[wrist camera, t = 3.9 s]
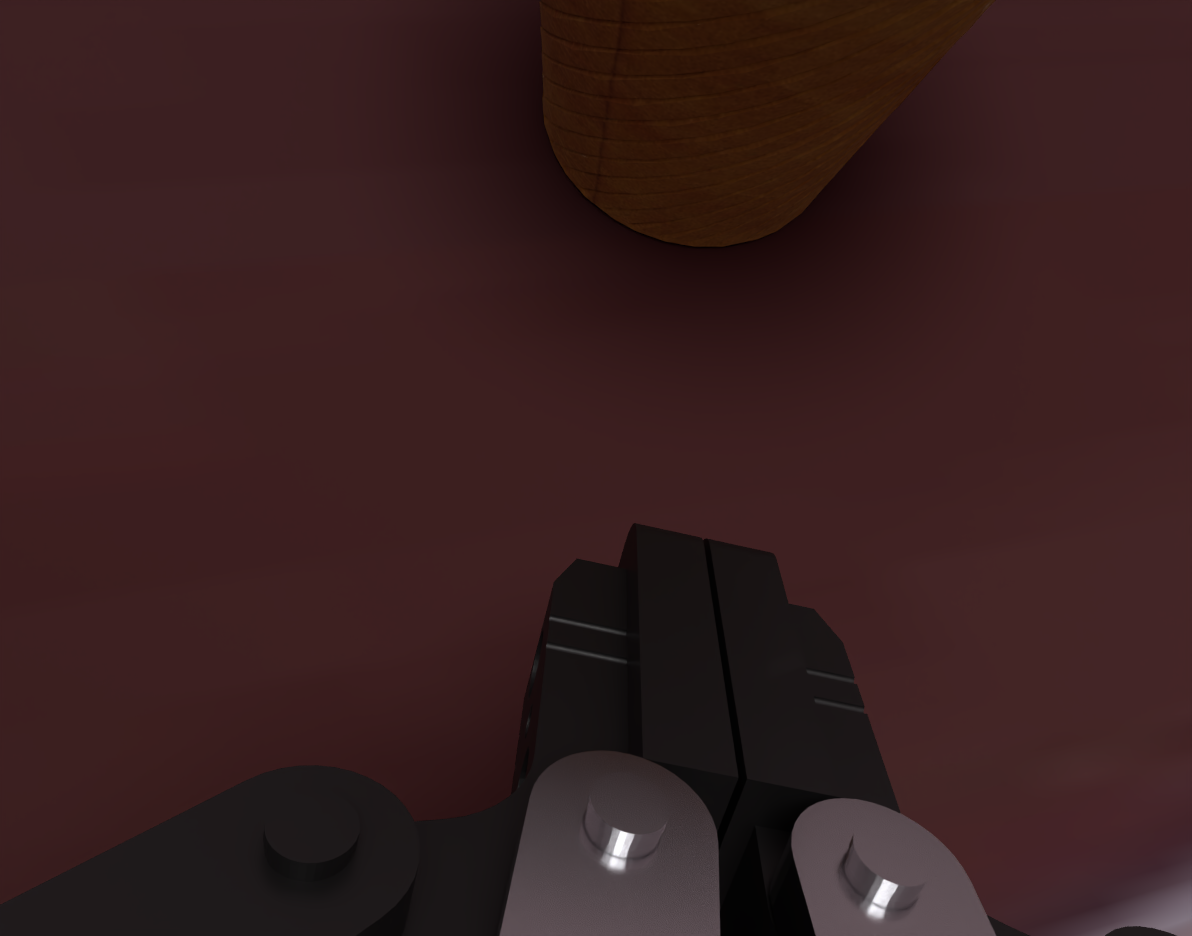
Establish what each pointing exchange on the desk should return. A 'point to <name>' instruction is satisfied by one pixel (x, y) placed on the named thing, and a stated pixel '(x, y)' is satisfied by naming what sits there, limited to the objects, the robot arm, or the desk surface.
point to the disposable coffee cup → (727, 101)
